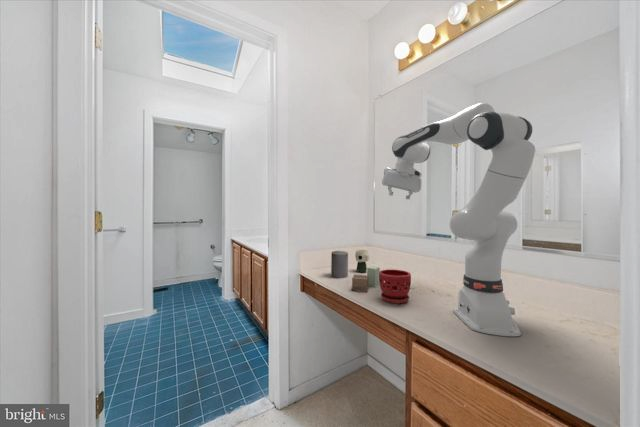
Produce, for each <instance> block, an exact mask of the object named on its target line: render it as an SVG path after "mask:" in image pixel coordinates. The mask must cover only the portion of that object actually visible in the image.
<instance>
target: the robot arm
mask: <svg viewBox="0 0 640 427" xmlns="http://www.w3.org/2000/svg"><path fill="white" fill-rule="evenodd" d="M532 134H533V125H532V124H531V121H529V120H527V119H526V118H524V117H522V116H518V115H517V116H516V115H513V114H510V113H507V112H496V111H495V109H494V107H493V106H492V105H491V104H489V103H488V102H478V103H476V104H473V105H471V106H469V107H466V108H465V109H463V110H461V111H459V112H458V113H455V114H454V115H452V116H451V117H448V118H444V119H443V120H440V121H435V122H431V123H428V124H426V125H424V126H423V127H420V128H418V129H415V130H414V131H412V132H410V133H408V134H404V135H403V134H402V135H400V136H398V137H397V138H395V140H394V141H393V143H392V145H391V149H392V154H393V156H395V157H396V159H397V161H396V163H395V168H392V167H386V168H384V171H383V177H382V179H381V180H382V181H381V184H382V185H383V186H386V187H387V190H388V196H391V197H392V196H393V195H394V191H392V188H393V189H394V188H395V189H397V190H398V189H399V190H403V191H407V192H408V194H407V195H406V196H405V199H406V200H410V199H411V196H412V195H413V194H414V193H415V194H416V193H420V191H421V189H422V178H421V177H422V174H423V173H422V172H421V171H419V170H417V169H416V168H415V167H414V164H423V163H424V162H426V161H427V160H428V159H429V157H430V154H431V146H429V144H427V143H426V142H435V143H441V144H446V145H457V144H461V143H464V142H467V141H468V140H469V141H471V142H472V143H473V144H475V145H477V146H479V147H480V148H481V149H483V150H484V151H488V150H490V151H491V154H492V158H491V161H490V163H489V165H488V168H487V170H486V172H485V174H484V177H483V179H482V181H481V183H480V185H479V187H478V189H477V192H476V193H475V194H474V195H473V197H472V198H471V199H470V200H469V202H468V203H466V205H464V207H463V208H461V209H460V210H458V211H457V212H455V213H454V214H453V215H452V216H451V218H450V220H449V228H450V232H451V233H452V234H453V235H454V236H455V237H456V238H459V239H463V240H468V241H474V242H473V244H472V246H471V248H469V250H468V251H467V252H466V254H465V256H464V258H465V259H464V260H465V261H464V274H463V279H462V282H463V283H462V284H463V286H462V287H461V288H460V289H459V290H458V297H457V307H454V308H453V309H452V312H453V313H454V314H455V315H456V316H457V317H458V318H459V320H461V321H462V322H463V323H464V324H465V325H466V326H467V327H468V328H470V330H473V331H475V332H479V333H482V334H488V335H492V336H502V337H520V336H521V335H522V334H521V333H522V332H521V330H520V329H519V328H520V327H518V325H517V323H516V321H515V319H514V317H513V316H514V315H515V314H516V309H515V307H510V306H509V305H510V300H508V299H507V298H506V295H505V293H504V284H503V280H502V277H501V276H502V259H503V254H504V251H505V248H506V246H507V243H508V241H509V239H510V237H511V236H512V235H513V234H515V232H516V231H517V229H518V220H517V218H516V217H515V215H514V214H513V213H510V212H508V211H506V210H504V209H505V208H506V207H507V206H509V205H510V204H512V203H513V202H515V201H516V199H517V198H518V195H519V194H520V192H521V189H522V188H523V186H524V183H525V181H526V179H527V177H528V175H529V172H530V170H531V167H532V165H533V162H534V158H535V154H536V153H535V152H536V146H535V145H534V144H533V143H532V142H531V141H529V140H530V138H531V136H532Z"/></svg>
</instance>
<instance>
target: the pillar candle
mask: <svg viewBox="0 0 640 427" xmlns="http://www.w3.org/2000/svg"><path fill="white" fill-rule="evenodd" d="M330 257H331V260H330V261H331V262H330V263H331V264H330V266H331V267H330V275H331V277H332V278H336V279H345V278H347V277H348V276H349V271H348V270H349V252H348V251H344V250H340V249H339V250H333V251H331V256H330Z"/></svg>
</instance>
